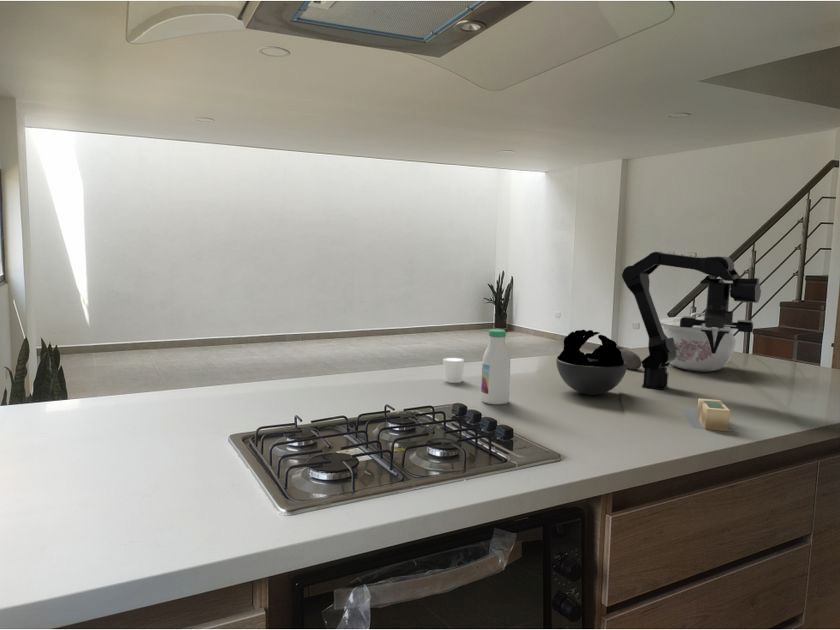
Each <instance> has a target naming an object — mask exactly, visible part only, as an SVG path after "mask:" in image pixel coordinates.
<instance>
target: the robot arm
mask: <svg viewBox="0 0 840 630" xmlns="http://www.w3.org/2000/svg"><path fill="white" fill-rule="evenodd" d="M660 266H664V267H665V266H666V267H674V268H679V269H680V268H682V269H689V270H694V271H698V272H701V273H703V274H706V276H705V277H704V279H702V280H700V281H699V282H700V284H704V285H707V295H706V307H705V312H704V313H705V319H704V320H696V317H697V316H693V317H690V315H688V316H686V315H684V316H682V317H683V318H681V319H680V327H688V328H691V327H693V326H694V325H695V326H701V327H702V329H701V331H702V332H705V333H706V335H707V338H708V340H709V344H710V347H711V351H712V353H714V354H715V353H716V350H717V348H718V346H719V343H720V341H721V339H722V338H723V336H724V335H725V334H726V333H727V334H729V333H730V330H729V329H730V328H734V329H735V330H738V332H739V333H753V329H754V322H753V321H752V320H745V319H737V320H736V322H735V321H733V319H734V311H730V310H729V305H730V298H731V299H733V300H734V302H739V303H741V302H742V303H752V304H753V303H755V304H758V303H759V301H760V299H761V294H762V289H761V284H760V278H758V277H757V278H756V277H752V278H748V277H747V278H745V277H741V276H740V275H739V273H738V272H737V270H736V268H735V263H734V261H733V259H732V258H730V257H728V256H701V257H700V256H690V255H682V254H674V253H665V252H663V251H652V252H651V253H649V254H648V255H647V256H646V257H644V258H641V259H640V260H639V261H637V262H635V263H633V264H632V265H628V266H627V267H625V268H624V269H623V270H622V272H621V278H622V280H623V283H624V284H625V286H626V287H627V288H628V290H629V291H630V293H632V295H633V296H634V298H635V302H636V304H637V308H638V311H639V313H640V316H641V319H642V322H643V325H644V328H645V330H646V331H645V332H646V333H647V336H648V346H647V348H648V354H649V355H647V356H646V357H645V358H644V359H642V360H641V367H642V369H643V383H642V385H641V387H642V388H649V389H655V390H666V388H667V387H668V385H669V377H670V375H669V372H668V367H669V366H670V365H671V364H670V362H672V361H673V360H674V359H675V357H676V355H677V353H676V350H678V349H677V348H676V346H675V344H674V339H673V337H671V338H668V337H667V336H666V335H665V334H664V332H663V331H664V328H663V327H662V326H663V325H661V323H660V321H659V319H660V318H659V315H658V313H657V309H656V307H655V304H654V301H653V298H652V294H651V292H650V283H651V282H650V276H651V274H652V273H654V272H655V271H656V270H657V269H658V268H659V267H660ZM713 277H716V278H713ZM717 277H719V278H717ZM713 327H715V328H719V330H718V333H717V338H716V342H715V346H714V331H713Z"/></svg>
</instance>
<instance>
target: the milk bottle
mask: <svg viewBox="0 0 840 630" xmlns="http://www.w3.org/2000/svg"><path fill="white" fill-rule="evenodd" d="M506 336H507V331H506V330H505V329H494V328H493V329H489V330H488V339H489V342H488V345H487V347H486V349H485V351H484V354H483V356H482V368H481V389H480V390H481V391H480V392H481V393H480V397H481V398H480V400H481V402H482V403H485V404H489V405H497V406H499V405H507V404H508V403H509V401H510V391H511V390H510V389H511V388H510V385H511V382H510V381H511V357H510V353H509V351H508V348H507V346H506Z"/></svg>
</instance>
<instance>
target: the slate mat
mask: <svg viewBox="0 0 840 630" xmlns="http://www.w3.org/2000/svg"><path fill="white" fill-rule="evenodd" d="M697 410H698V409H696V410H695V409H686V408H681V411H682V412H683V414H684V416H685V418H686V419H687V420H688V422H689V423H690V425H691V426H692V428H693V429H703V430H706V429H705V428H704V427H703V426H702V424H701V423H700V421H699V420H698V418H697ZM727 432H735V433H737V432H738V433H740V431H739V430H738V428H736V426H735V425H734V424H733V423H732V422H731V420H729V428H728V431H727Z"/></svg>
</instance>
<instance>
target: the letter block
mask: <svg viewBox="0 0 840 630" xmlns="http://www.w3.org/2000/svg"><path fill="white" fill-rule="evenodd" d="M696 410H697V418H698V420H699V421H700V423H701V424H702V426H703V427H704V428H705V429H704V430H707V431H709V430H711V431H721V432H722V431H723V432H729V431H728V428H729V421H730V414H731V410H730V409H729V408H728V407H727V406H726V404H724V403H723V402H722V400H720V399H711V398H709V399H708V398H698V400H697V409H696Z"/></svg>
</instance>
